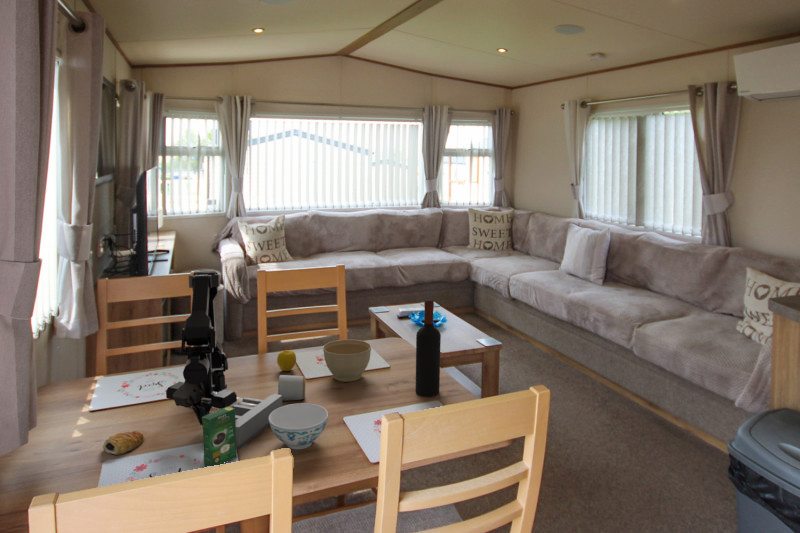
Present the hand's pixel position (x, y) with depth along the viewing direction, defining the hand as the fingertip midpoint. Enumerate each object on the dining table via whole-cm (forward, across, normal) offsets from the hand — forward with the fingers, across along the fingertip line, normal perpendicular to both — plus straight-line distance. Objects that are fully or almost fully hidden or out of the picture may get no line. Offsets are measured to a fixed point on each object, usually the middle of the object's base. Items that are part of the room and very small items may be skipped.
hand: (202, 424), depth 153 cm
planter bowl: (+2, +20, +49) cm, 53 cm away
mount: (+2, +10, +6) cm, 11 cm away
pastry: (+3, -13, -14) cm, 20 cm away
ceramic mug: (+2, +11, +28) cm, 30 cm away
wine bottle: (+1, +49, +46) cm, 68 cm away
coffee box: (+2, +15, -12) cm, 19 cm away
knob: (+2, +6, +11) cm, 13 cm away
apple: (+2, -2, +47) cm, 47 cm away
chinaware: (+2, +28, +3) cm, 28 cm away
